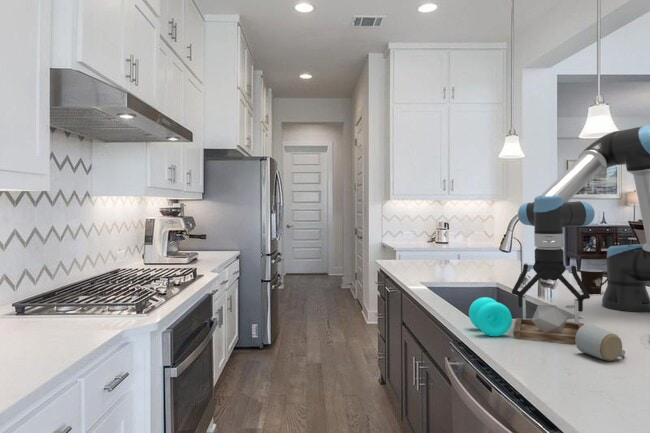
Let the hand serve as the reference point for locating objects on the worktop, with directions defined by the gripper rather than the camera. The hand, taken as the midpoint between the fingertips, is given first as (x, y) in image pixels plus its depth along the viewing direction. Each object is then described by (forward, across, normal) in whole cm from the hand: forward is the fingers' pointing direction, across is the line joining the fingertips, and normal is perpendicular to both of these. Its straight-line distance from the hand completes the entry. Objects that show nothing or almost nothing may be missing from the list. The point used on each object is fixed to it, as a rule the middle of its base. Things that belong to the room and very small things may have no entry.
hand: (549, 320), depth 127 cm
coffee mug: (+5, +19, +75) cm, 77 cm away
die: (+4, 0, 0) cm, 4 cm away
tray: (+4, 0, 0) cm, 4 cm away
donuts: (+4, -16, -5) cm, 17 cm away
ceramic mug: (+4, +11, -16) cm, 20 cm away
